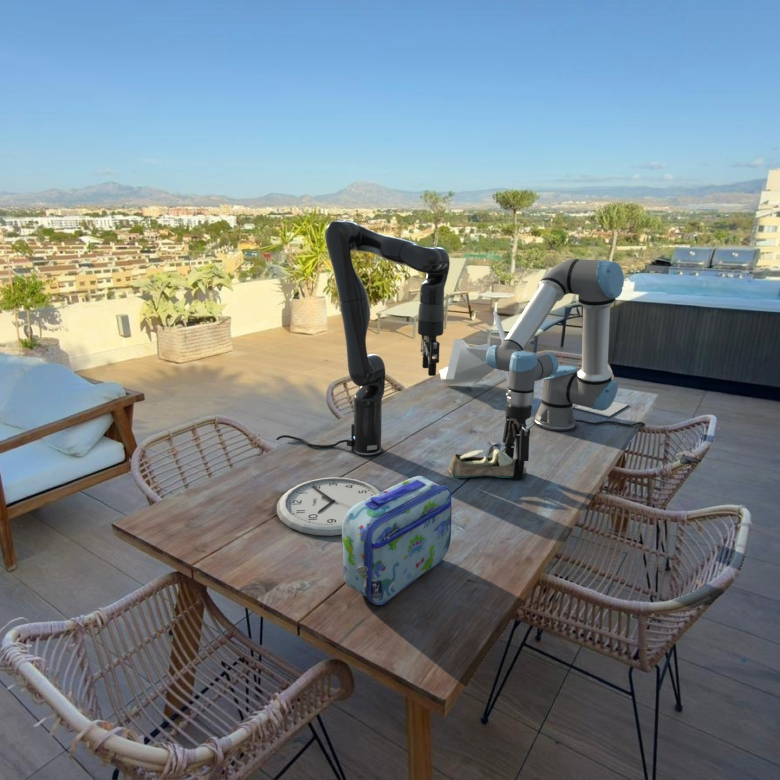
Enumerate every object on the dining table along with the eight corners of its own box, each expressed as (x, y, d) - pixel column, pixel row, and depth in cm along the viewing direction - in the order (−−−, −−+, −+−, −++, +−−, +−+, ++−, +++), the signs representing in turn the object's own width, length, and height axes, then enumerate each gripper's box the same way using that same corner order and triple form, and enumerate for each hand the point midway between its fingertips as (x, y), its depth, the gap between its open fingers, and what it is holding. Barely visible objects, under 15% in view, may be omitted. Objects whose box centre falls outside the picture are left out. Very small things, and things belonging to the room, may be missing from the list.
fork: (484, 456, 175) (484, 450, 174) (492, 439, 189) (492, 434, 188) (491, 457, 174) (492, 452, 173) (499, 440, 188) (499, 435, 188)
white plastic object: (461, 429, 252) (437, 405, 227) (444, 352, 274) (420, 323, 250) (535, 404, 240) (518, 377, 215) (510, 326, 262) (492, 293, 237)
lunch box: (371, 618, 102) (371, 524, 95) (336, 591, 109) (334, 502, 103) (455, 562, 119) (460, 479, 113) (420, 542, 126) (423, 463, 120)
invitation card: (608, 416, 214) (573, 407, 224) (608, 416, 214) (573, 408, 224) (628, 404, 229) (594, 396, 238) (628, 405, 229) (594, 397, 238)
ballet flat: (531, 479, 160) (533, 454, 157) (452, 483, 156) (454, 458, 154) (520, 467, 168) (522, 443, 165) (446, 471, 164) (447, 446, 162)
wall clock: (392, 527, 129) (268, 531, 127) (391, 533, 130) (269, 537, 127) (383, 473, 158) (282, 475, 155) (383, 478, 158) (282, 480, 156)
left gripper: (413, 314, 159) (412, 366, 164) (423, 322, 146) (421, 378, 150) (438, 314, 160) (435, 365, 165) (449, 322, 147) (446, 378, 152)
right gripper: (495, 393, 165) (490, 459, 172) (520, 415, 146) (513, 489, 153) (518, 392, 166) (512, 458, 173) (546, 414, 147) (537, 487, 154)
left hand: (428, 371), depth 158 cm, fingers open, 8 cm apart
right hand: (512, 472), depth 163 cm, fingers closed on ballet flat, 8 cm apart
